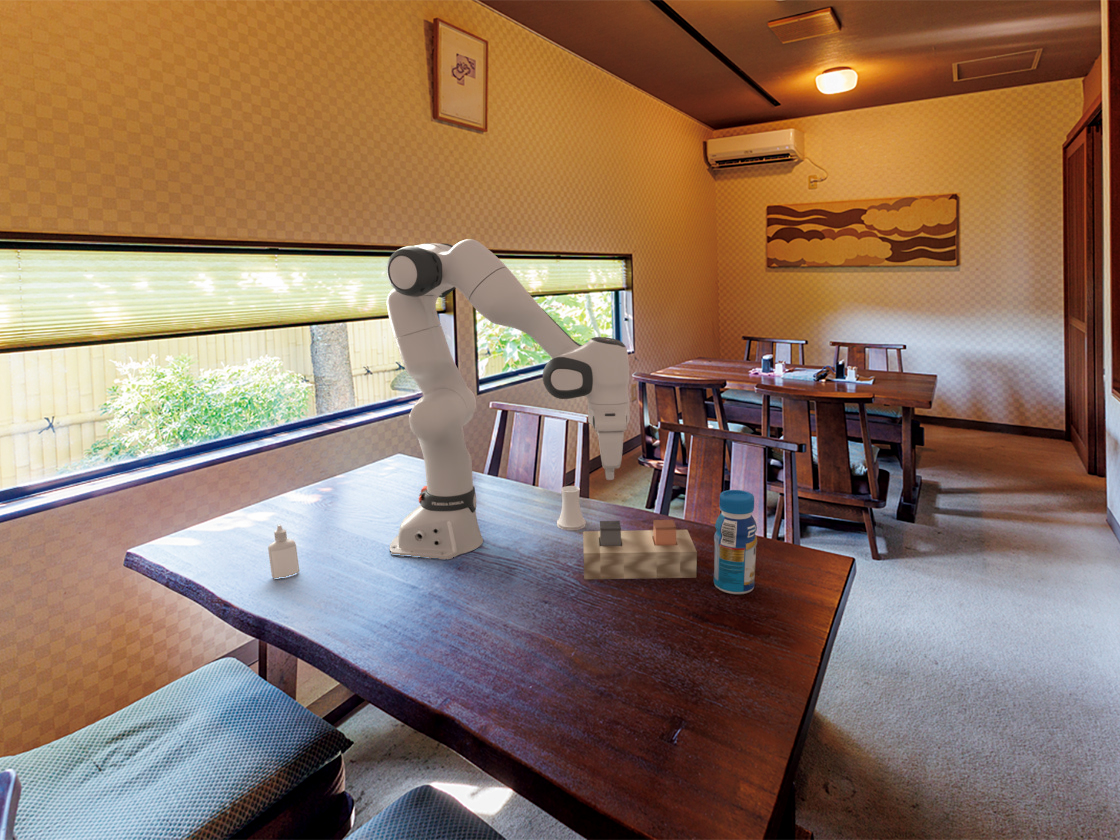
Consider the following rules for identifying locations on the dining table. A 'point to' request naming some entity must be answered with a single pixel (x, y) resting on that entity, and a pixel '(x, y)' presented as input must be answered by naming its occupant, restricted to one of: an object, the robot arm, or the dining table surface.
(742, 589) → the beverage bottle
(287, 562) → the eye dropper bottle
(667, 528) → the terracotta plug
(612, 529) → the charcoal plug
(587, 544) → the maple housing
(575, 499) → the vase
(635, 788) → the dining table surface
